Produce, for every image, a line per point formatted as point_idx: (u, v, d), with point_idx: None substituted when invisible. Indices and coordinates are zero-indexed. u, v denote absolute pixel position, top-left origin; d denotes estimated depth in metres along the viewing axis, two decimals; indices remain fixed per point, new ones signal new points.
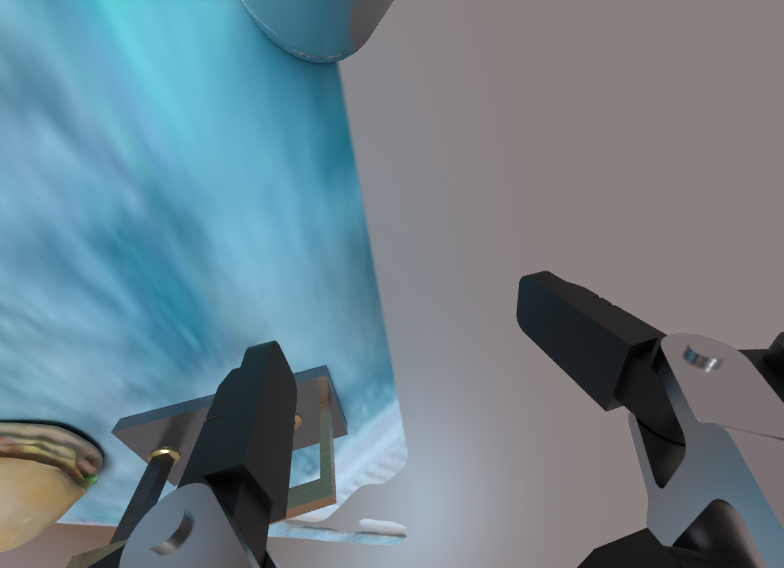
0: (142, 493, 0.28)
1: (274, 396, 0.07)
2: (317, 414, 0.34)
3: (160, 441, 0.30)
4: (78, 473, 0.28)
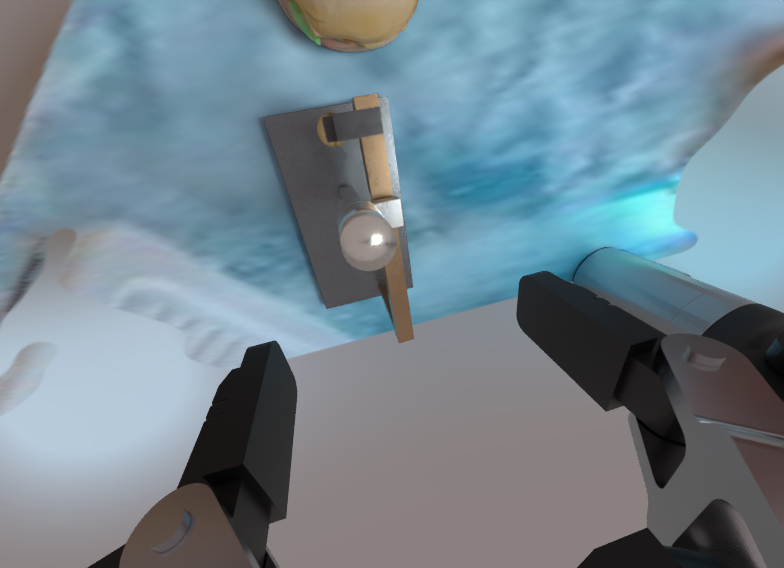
0: None
1: (274, 396, 0.07)
2: (365, 281, 0.36)
3: None
4: (348, 42, 0.23)
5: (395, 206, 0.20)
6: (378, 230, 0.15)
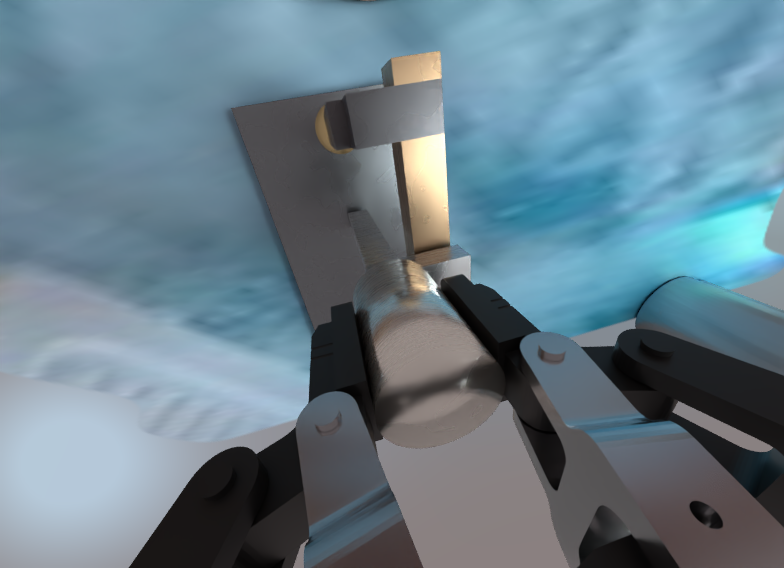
0: None
1: None
2: None
3: None
4: None
5: (460, 268, 0.11)
6: (467, 375, 0.06)
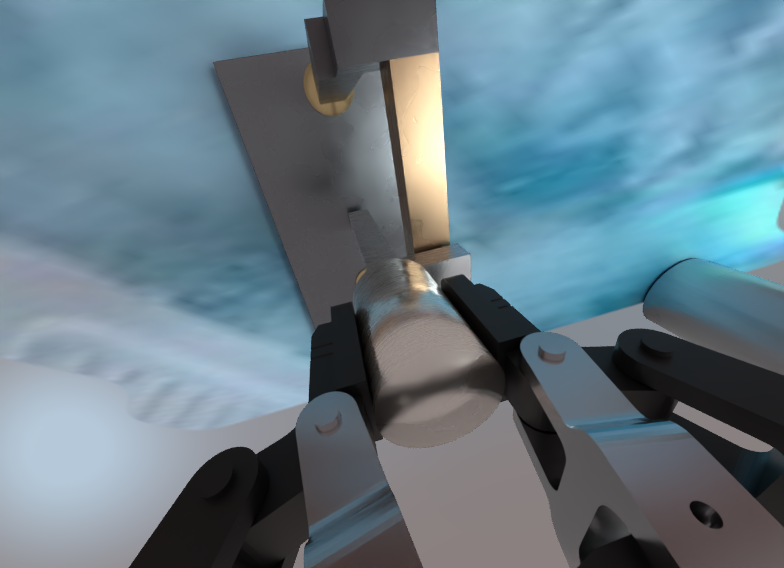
0: None
1: None
2: None
3: (373, 98, 0.18)
4: None
5: (460, 267, 0.11)
6: (466, 374, 0.06)
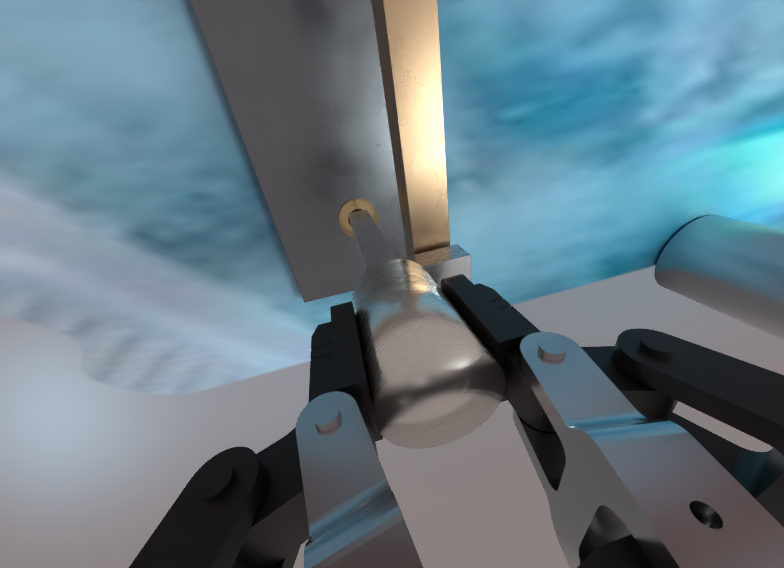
0: None
1: None
2: None
3: None
4: None
5: (460, 268, 0.11)
6: (467, 374, 0.06)
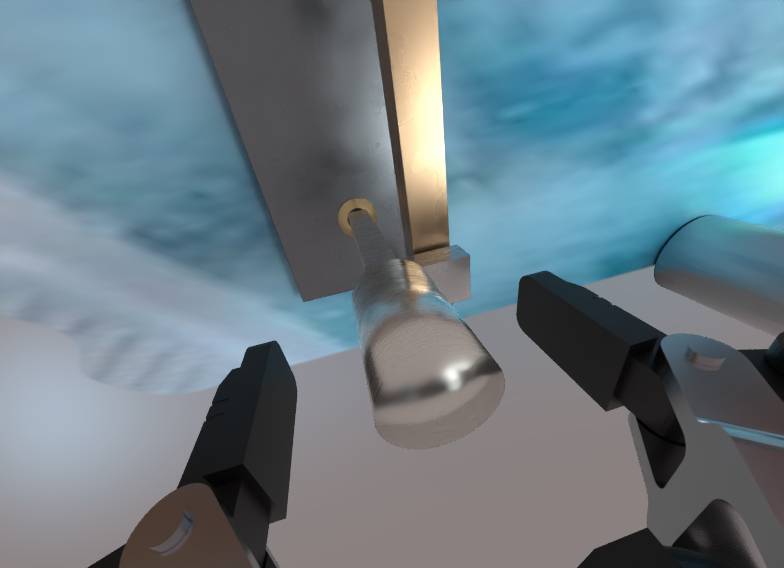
0: None
1: (274, 396, 0.07)
2: None
3: None
4: None
5: (459, 268, 0.11)
6: (466, 375, 0.06)
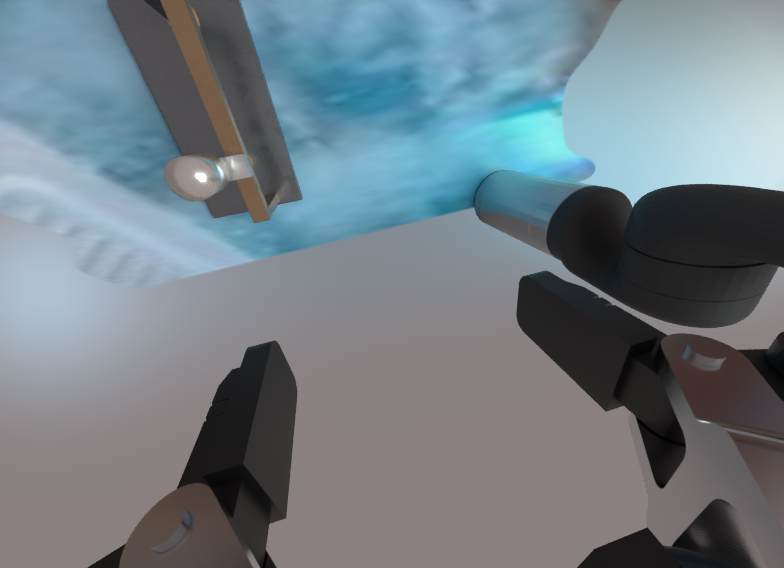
0: None
1: (274, 396, 0.07)
2: None
3: (212, 25, 0.29)
4: None
5: (239, 160, 0.25)
6: (193, 167, 0.21)
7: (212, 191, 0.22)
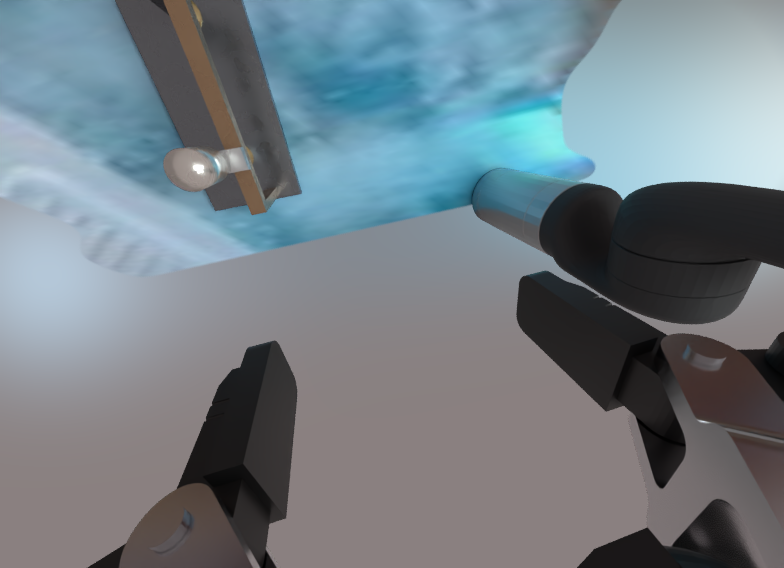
0: None
1: (274, 396, 0.07)
2: None
3: (215, 23, 0.30)
4: None
5: (237, 153, 0.26)
6: (191, 159, 0.22)
7: (209, 182, 0.23)
